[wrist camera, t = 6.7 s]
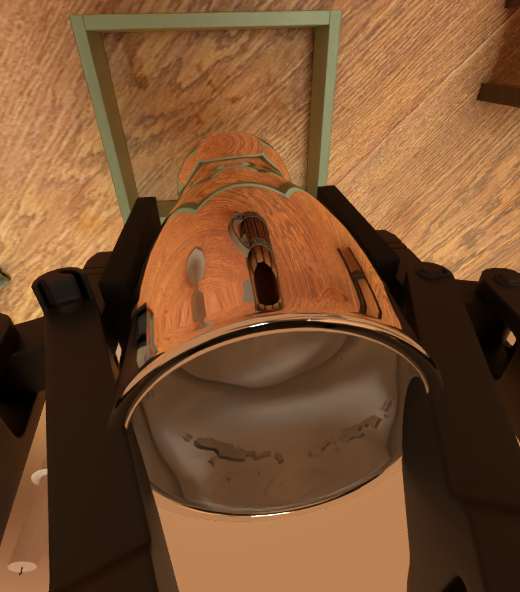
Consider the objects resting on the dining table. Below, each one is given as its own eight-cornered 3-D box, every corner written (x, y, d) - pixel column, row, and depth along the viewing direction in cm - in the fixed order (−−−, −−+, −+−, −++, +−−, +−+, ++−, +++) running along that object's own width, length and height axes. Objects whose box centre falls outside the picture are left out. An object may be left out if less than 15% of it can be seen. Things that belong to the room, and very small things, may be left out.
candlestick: (40, 299, 47) (-138, 569, 23) (129, 272, 46) (46, 519, 22) (91, 362, 54) (-1, 615, 30) (169, 339, 54) (139, 579, 29)
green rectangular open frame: (86, 19, 31) (68, 14, 27) (325, 14, 33) (342, 9, 29) (133, 211, 42) (125, 228, 38) (313, 199, 44) (324, 214, 40)
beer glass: (201, 264, 21) (194, 551, 9) (143, 151, 17) (-8, 399, 5) (310, 224, 21) (456, 476, 9) (275, 97, 17) (461, 235, 4)
